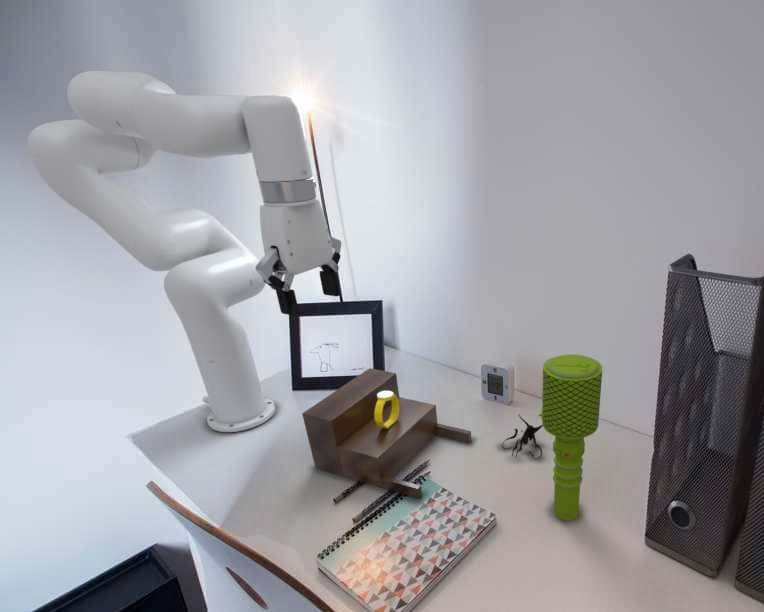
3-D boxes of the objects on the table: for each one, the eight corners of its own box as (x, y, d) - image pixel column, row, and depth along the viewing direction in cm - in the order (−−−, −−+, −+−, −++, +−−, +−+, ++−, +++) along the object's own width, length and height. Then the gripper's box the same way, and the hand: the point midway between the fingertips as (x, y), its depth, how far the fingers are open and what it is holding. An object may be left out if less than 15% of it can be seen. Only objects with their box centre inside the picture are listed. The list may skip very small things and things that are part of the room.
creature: (535, 470, 91) (555, 439, 96) (531, 448, 87) (552, 418, 92) (495, 457, 94) (517, 428, 99) (491, 436, 91) (513, 407, 96)
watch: (387, 435, 89) (382, 404, 86) (373, 432, 89) (367, 401, 86) (404, 417, 93) (400, 387, 91) (390, 414, 94) (386, 385, 91)
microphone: (589, 496, 83) (599, 349, 70) (593, 530, 76) (606, 375, 64) (537, 495, 83) (539, 349, 71) (537, 529, 77) (539, 375, 64)
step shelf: (315, 468, 91) (301, 413, 86) (377, 417, 105) (369, 368, 100) (419, 499, 83) (411, 441, 78) (471, 440, 97) (468, 387, 92)
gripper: (310, 183, 86) (329, 286, 94) (221, 200, 72) (253, 319, 81) (347, 185, 83) (363, 291, 91) (262, 203, 69) (291, 325, 78)
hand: (312, 304), depth 86 cm, fingers open, 9 cm apart
